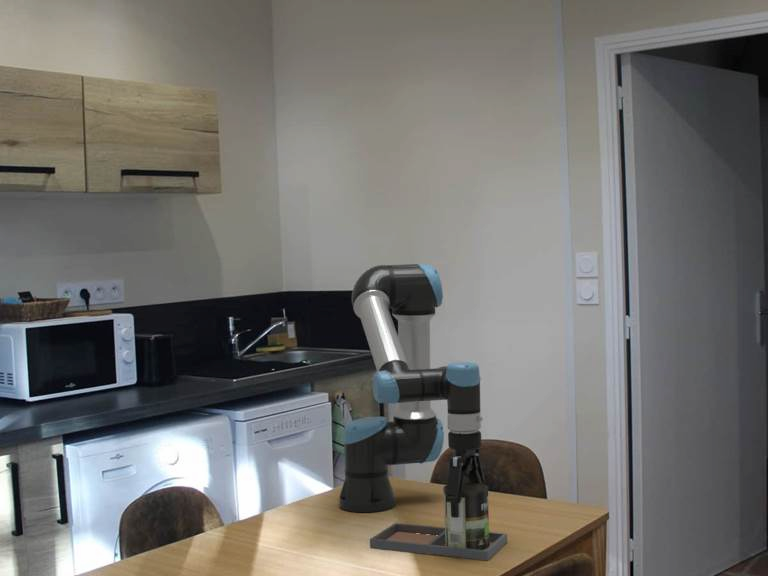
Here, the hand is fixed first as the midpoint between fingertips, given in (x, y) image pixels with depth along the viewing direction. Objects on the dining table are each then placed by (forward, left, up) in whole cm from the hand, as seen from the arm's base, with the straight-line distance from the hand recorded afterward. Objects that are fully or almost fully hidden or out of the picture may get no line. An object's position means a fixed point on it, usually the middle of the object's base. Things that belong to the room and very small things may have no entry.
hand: (467, 523), depth 224 cm
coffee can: (0, 0, -6) cm, 6 cm away
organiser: (0, -7, -6) cm, 9 cm away
